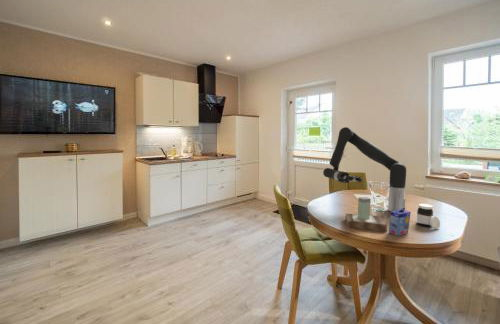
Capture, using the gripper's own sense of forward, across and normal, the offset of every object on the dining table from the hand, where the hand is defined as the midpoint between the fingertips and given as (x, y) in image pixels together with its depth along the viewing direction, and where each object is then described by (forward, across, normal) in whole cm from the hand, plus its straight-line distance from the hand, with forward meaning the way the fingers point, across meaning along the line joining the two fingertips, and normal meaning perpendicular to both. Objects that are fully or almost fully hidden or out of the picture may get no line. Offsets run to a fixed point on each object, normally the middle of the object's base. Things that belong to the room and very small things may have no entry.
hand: (354, 180), depth 158 cm
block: (+13, -2, +20) cm, 24 cm away
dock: (+13, -2, +24) cm, 27 cm away
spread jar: (+20, +34, +26) cm, 47 cm away
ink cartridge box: (+26, +10, +25) cm, 38 cm away
